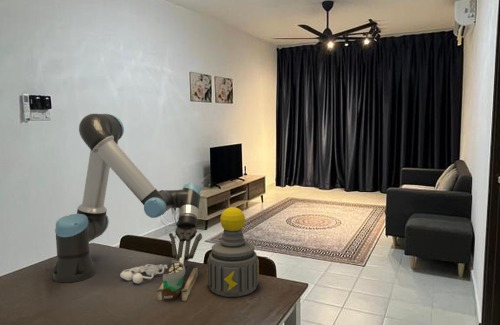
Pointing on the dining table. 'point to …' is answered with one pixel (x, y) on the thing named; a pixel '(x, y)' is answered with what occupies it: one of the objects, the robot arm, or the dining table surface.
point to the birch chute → (184, 291)
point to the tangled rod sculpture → (137, 276)
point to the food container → (173, 281)
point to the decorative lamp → (233, 259)
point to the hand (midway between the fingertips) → (180, 276)
